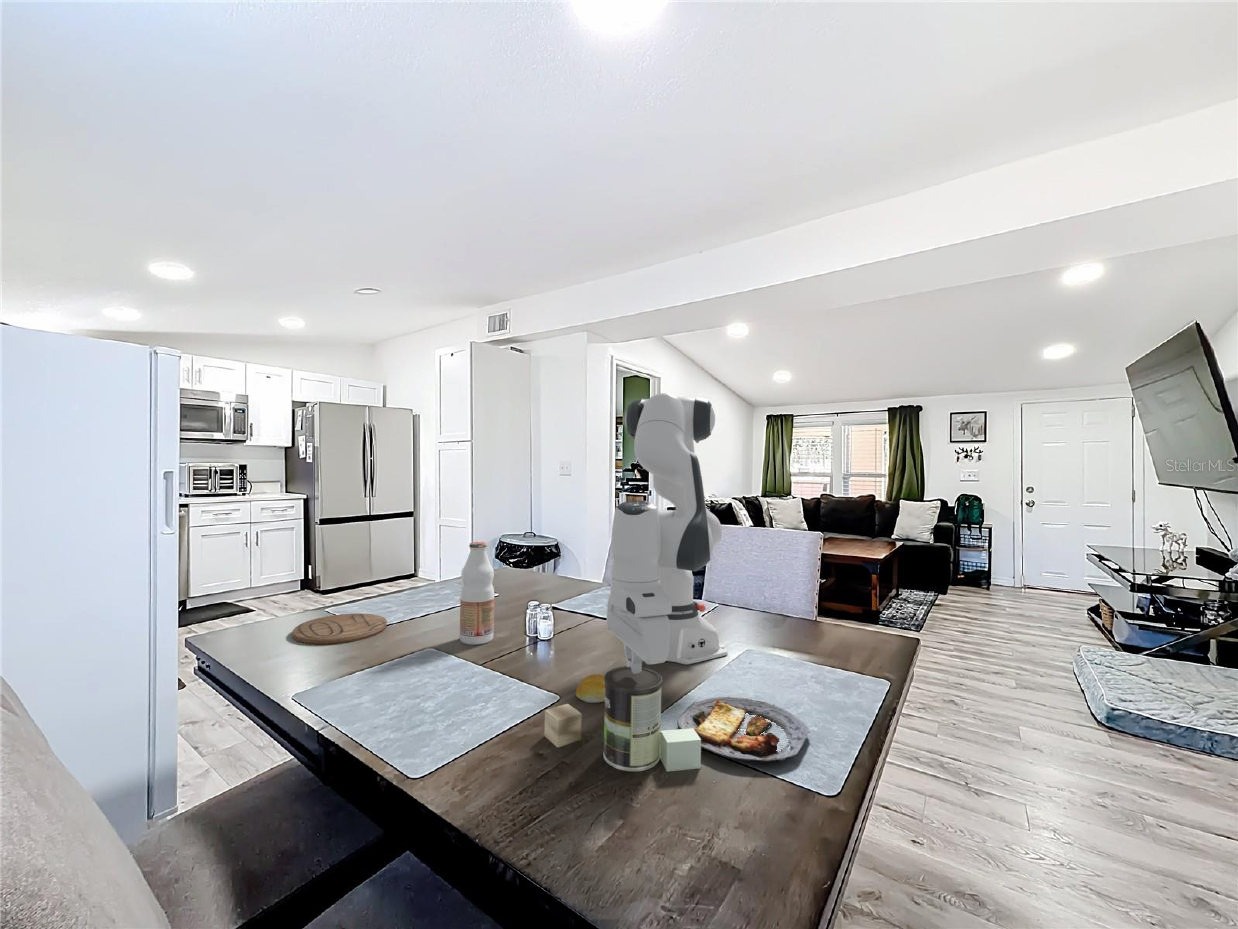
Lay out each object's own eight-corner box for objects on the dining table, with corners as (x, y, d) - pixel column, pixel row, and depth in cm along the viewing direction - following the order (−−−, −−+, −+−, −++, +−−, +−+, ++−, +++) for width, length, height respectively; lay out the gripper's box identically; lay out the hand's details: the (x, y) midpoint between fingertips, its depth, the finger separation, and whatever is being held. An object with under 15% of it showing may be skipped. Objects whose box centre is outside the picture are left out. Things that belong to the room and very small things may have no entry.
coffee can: (599, 770, 91) (601, 687, 91) (606, 739, 101) (607, 664, 101) (660, 774, 90) (662, 690, 90) (661, 742, 100) (662, 667, 100)
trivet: (371, 614, 179) (371, 609, 179) (399, 633, 161) (399, 627, 160) (284, 629, 162) (284, 623, 162) (304, 652, 144) (304, 645, 144)
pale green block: (692, 756, 96) (693, 728, 96) (700, 768, 92) (701, 739, 92) (660, 759, 95) (660, 731, 95) (666, 772, 91) (667, 742, 91)
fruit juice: (458, 646, 150) (460, 545, 149) (460, 635, 159) (462, 540, 159) (493, 644, 152) (494, 545, 151) (493, 633, 161) (495, 540, 161)
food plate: (785, 786, 87) (785, 764, 87) (658, 745, 100) (658, 726, 100) (818, 727, 109) (818, 710, 109) (710, 700, 121) (710, 684, 121)
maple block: (567, 729, 105) (567, 703, 105) (581, 740, 101) (581, 713, 101) (544, 736, 102) (544, 710, 102) (557, 748, 98) (558, 720, 98)
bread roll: (572, 702, 117) (572, 684, 117) (582, 686, 125) (582, 669, 125) (609, 706, 115) (610, 688, 115) (617, 689, 124) (617, 672, 124)
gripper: (599, 581, 104) (598, 652, 105) (641, 610, 85) (639, 697, 85) (629, 579, 107) (628, 648, 107) (676, 606, 87) (675, 691, 88)
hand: (633, 670), depth 96 cm, fingers closed
